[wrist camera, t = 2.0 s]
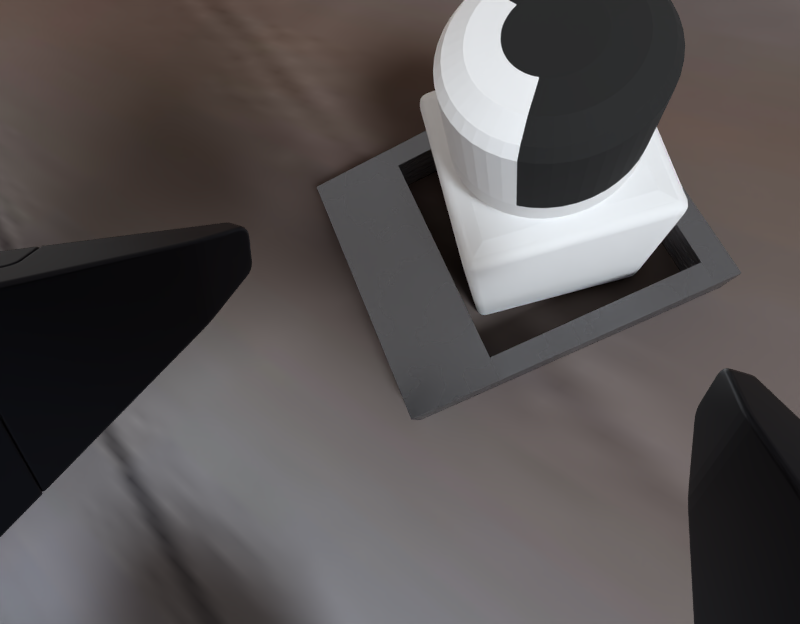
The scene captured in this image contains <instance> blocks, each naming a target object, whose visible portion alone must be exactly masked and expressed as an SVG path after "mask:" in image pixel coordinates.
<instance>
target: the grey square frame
mask: <svg viewBox="0 0 800 624" xmlns="http://www.w3.org/2000/svg"><path fill="white" fill-rule="evenodd" d="M435 171H437V169H436V165H435V161H434V158H433V154H432V150H431V147H430V143H429V139H428V136H427V132H426V131H424V132H422V133H420V134H418V135H417V136H415V137H413V138H411V139H409V140H407V141H405V142H403V143H401V144H399V145H397V146H395V147H393V148H391V149H389V150H387V151H385V152H383V153H382V154H380V155H378V156H376V157H374V158H372V159H370V160H368V161H366V162H364V163H362V164H360V165H358V166H356V167H354V168H352V169H350V170H348V171H346V172H345V173H343V174H341V175H339V176H337V177H335V178H333V179H331V180H329V181H327V182H325V183H323V184H321V185H319V186H317V189H318V192H319V194H320V196H321V199H322V201H323V204H324V206H325V209H326V211H327V214H328V216H329V218H330V221H331V223H332V226H333V228H334V231H335V233H336V236H337V238H338V240H339V243H340V245H341V248H342V250H343V253H344V255H345V258H346V260H347V262H348V265H349V267H350V270H351V272H352V275H353V277H354V280H355V282H356V284H357V287H358V289H359V292H360V294H361V297H362V299H363V302H364V304H365V306H366V309H367V311H368V314H369V316H370V319H371V321H372V324H373V326H374V328H375V331H376V333H377V336H378V338H379V341H380V343H381V346H382V348H383V350H384V353H385V355H386V358H387V360H388V363H389V365H390V368H391V370H392V373H393V375H394V377H395V380H396V382H397V385H398V387H399V390H400V392H401V395H402V397H403V399H404V402H405V404H406V407H407V409H408V412H409V414H410V417H411V419H414V420H421V419H423V418H426V417H428V416H430V415H432V414H435V413H437V412H439V411H442V410H444V409H446V408H448V407H451V406H453V405H455V404H457V403H460V402H462V401H464V400H466V399H469V398H471V397H473V396H475V395H478V394H480V393H482V392H484V391H487V390H489V389H491V388H494V387H496V386H498V385H500V384H503V383H505V382H507V381H509V380H512V379H514V378H516V377H518V376H521V375H523V374H525V373H527V372H530V371H532V370H534V369H536V368H539V367H541V366H543V365H545V364H548V363H550V362H552V361H555V360H557V359H559V358H561V357H564V356H566V355H568V354H570V353H573V352H575V351H577V350H579V349H582V348H584V347H586V346H588V345H591V344H593V343H595V342H597V341H600V340H602V339H604V338H607V337H609V336H611V335H613V334H616V333H618V332H620V331H622V330H625V329H627V328H629V327H631V326H634V325H636V324H638V323H640V322H643V321H645V320H647V319H649V318H652V317H654V316H656V315H659V314H661V313H663V312H665V311H668V310H670V309H672V308H674V307H677V306H679V305H681V304H683V303H686V302H688V301H690V300H692V299H695V298H697V297H699V296H701V295H704V294H706V293H708V292H710V291H713V290H715V289H717V288H720V287H721V286H723V285H724V284H726V283H727V282H729V281H730V280H732V279H733V278H735V277H736V276H738V275H739V274H741V272H740V270H739V269H738V267H737V266H736V264H735V263H734V261H733V260H732V258H731V257H730V256H729V254H728V253H727V251H726V250H725V248H724V247H723V245H722V244H721V242H720V241H719V239H718V238H717V237H716V235H715V234H714V232H713V231H712V229H711V228H710V226H709V225H708V223H707V222H706V220H705V219H704V218H703V216H702V215H701V213H700V212H699V210H698V209H697V207H696V206H695V204H694V203H693V201H692V200H691V199H690V197H689V196H688V194H687V193H686V191H685V190H684V188H683V187H682V188H683V191H684V193H685V195H686V198H687V200H688V208H687V210H686V212H685V213H684V215H683V216H682V217H681V218H680V219H679V221H678V222H677V223H676V224H675V226H674V227H673V228H672V229H671V231H670V232H669V233H668V234H667V236H666V237H665V238H664V239H663V240H662V243H663V245H664V246H665V248H666V249H667V251H668V252H669V254H670V255H671V257H672V259H673V260H674V262H675V263H676V265H677V266H678V268H679V269H680V271H681V272H679V273H677V274H674V275H672V276H670V277H668V278H666V279H663V280H661V281H659V282H657V283H654V284H652V285H650V286H648V287H646V288H643V289H641V290H639V291H637V292H634V293H632V294H630V295H628V296H626V297H623V298H621V299H619V300H617V301H614V302H612V303H610V304H608V305H606V306H603V307H601V308H599V309H597V310H594V311H592V312H590V313H588V314H586V315H583V316H581V317H579V318H577V319H574V320H572V321H570V322H568V323H566V324H563V325H561V326H559V327H557V328H554V329H552V330H550V331H548V332H546V333H543V334H541V335H539V336H537V337H534V338H532V339H530V340H528V341H526V342H523V343H521V344H519V345H517V346H514V347H512V348H510V349H508V350H506V351H503V352H501V353H499V354H497V355H494V356H492V357H489V355H488V352H487V350H486V348H485V346H484V344H483V342H482V340H481V338H480V336H479V334H478V331H477V329H476V327H475V325H474V323H473V321H472V319H471V317H470V315H469V313H468V311H467V308H466V306H465V304H464V302H463V300H462V298H461V296H460V294H459V292H458V290H457V288H456V285H455V283H454V281H453V279H452V277H451V275H450V273H449V271H448V269H447V267H446V265H445V262H444V260H443V258H442V256H441V254H440V252H439V250H438V248H437V246H436V244H435V242H434V239H433V237H432V235H431V233H430V231H429V229H428V227H427V225H426V223H425V221H424V218H423V216H422V214H421V212H420V210H419V208H418V206H417V204H416V202H415V200H414V198H413V195H412V193H411V191H410V189H409V187H408V185H409V184H411V183H413V182H415V181H417V180H419V179H421V178H423V177H425V176H427V175H429V174H431V173H433V172H435ZM681 186H682V185H681Z"/></svg>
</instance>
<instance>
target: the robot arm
mask: <svg viewBox="0 0 800 624" xmlns="http://www.w3.org/2000/svg"><path fill="white" fill-rule="evenodd" d="M251 266H252V259H251V250H250V240H249V233H248V231H247V230H246V229H245V228H244V227H242V226H239V225H235V224H232V223H220V224H212V225H205V226H197V227H189V228H181V229H173V230H165V231H157V232H150V233H142V234H134V235H126V236H118V237H110V238H102V239H95V240H87V241H79V242H71V243H63V244H55V245H47V246H42V247H40V248H39V247H31V248H23V249H15V250H7V251H0V537H1V536H2V535H3V534H4V533H5V532H6V531H7V530H8V529H9V528H10V527H11V526H12V524H13V523H14V522H15V521H16V520H17V519H18V518H19V517H20V516H21V515H22V514H23V513H24V512H25V511H26V510H27V509H28V508H29V507H30V506H31V505H32V504H33V503H34V502H35V501H36V500H37V499H38V498H39V497H40V496H41V495H42V491H45V490H46V489H47V488H48V487H49V486H50V485H51V484H52V483H53V482H54V481H55V480H56V479H57V478H58V477H59V476H60V475H61V474H62V473H63V472H64V471H65V470H66V469H67V468H68V467H69V466H70V465H71V464H72V463H73V462H74V461H75V460H76V459H77V458H78V457H79V456H80V455H81V454H82V453H83V452H84V451H85V450H86V448H87V447H88V446H89V445H90V444H91V443H92V442H93V441H94V440H95V439H96V438H97V437H98V436H99V435H100V434H101V433H102V432H103V431H104V430H105V429H106V428H107V427H108V426H109V425H110V424H111V423H112V422H113V421H114V420H115V419H116V418H117V417H118V416H119V415H120V414H121V413H122V412H123V411H124V410H125V409H126V408H127V407H128V406H129V405H130V404H131V403H132V402H133V401H134V400H135V399H136V398H137V397H138V396H139V394H140V393H141V392H142V391H143V390H144V389H145V388H146V387H147V386H148V385H149V384H150V383H151V382H152V381H153V380H154V379H155V378H156V377H157V376H158V375H159V374H160V373H161V372H162V371H163V370H164V369H165V368H166V367H167V366H168V365H169V364H170V363H171V362H172V361H173V360H174V359H175V358H176V357H177V356H178V355H179V354H180V353H181V352H182V351H183V350H184V349H185V348H186V347H187V346H188V345H189V344H190V343H191V341H192V340H193V339H194V338H195V337H196V336H197V335H198V334H199V333H200V332H201V331H202V330H203V329H204V328H205V327H206V326H207V325H208V324H209V323H210V321H211V320H212V319H213V318H214V317H215V316H216V314H217V313H218V312H219V310H220V309H221V308H222V307H223V305H224V304H225V303H226V302H227V300H228V299H229V298H230V297H231V295H232V294H233V293H234V292H235V290H236V289H237V288H238V287H239V285H240V284H241V283H242V282H243V280H244V279H245V278H246V277H247V275H248V274H249V272H250V270H251ZM688 516H689V535H690V554H691V573H692V592H693V611H694V624H800V419H799V418H798V417H797V416H796V415H795V414H794V413H793V412H792V411H791V410H790V409H789V408H787V407H786V406H785V405H784V404H783V403H782V402H781V401H780V400H779V399H778V398H777V397H776V396H775V395H774V394H773V393H772V392H771V391H770V390H769V389H767V388H766V387H765V386H764V385H763V384H762V383H761V382H760V381H759V380H758V379H757V378H756V377H755V376H752V375H750V374H747V373H743V372H740V371H736V370H733V369H728V368H726V369H723V370H722V371H720V372H719V373H718V375H717V376H716V378H715V380H714V381H713V383H712V384H711V386H710V388H709V389H708V391H707V392H706V394H705V396H704V397H703V399H702V401H701V402H700V404H699V406H698V408H697V411H696V415H695V422H694V433H693V444H692V456H691V467H690V478H689V491H688Z"/></svg>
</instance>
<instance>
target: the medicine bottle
mask: <svg viewBox="0 0 800 624" xmlns="http://www.w3.org/2000/svg"><path fill="white" fill-rule="evenodd" d="M684 52H685V41H684V33H683V27H682V24H681V21H680V18H679V15H678V13H677V11H676V9H675V7H674V5H673V3H672V2H671V0H464V1H463V2H462V3H461V4H460V6H459V7H458V8H457V9H456V11H455V12H454V13H453V15H452V16H451V17H450V19H449V21H448V23H447V24H446V26H445V28H444V30H443V32H442V34H441V37H440V39H439V42H438V44H437V48H436V52H435V56H434V66H433V77H434V87H435V91H432V92H429V93H426V94H425V95H423V96H422V98H421V99H420V110H421V113H422V117H423V121H424V124H425V128H426V132H427V136H428V139H429V143H430V147H431V150H432V154H433V158H434V161H435V165H436V169H437V173H438V176H439V180H440V184H441V187H442V191H443V195H444V198H445V202H446V206H447V210H448V213H449V217H450V221H451V224H452V228H453V232H454V235H455V239H456V243H457V247H458V250H459V254H460V258H461V261H462V265H463V268H464V272H465V275H466V278H467V281H468V284H469V287H470V291H471V294H472V297H473V300H474V303H475V306H476V309H477V311H478V313H480V314H482V315H488V314H492V313H495V312H499V311H503V310H507V309H510V308H514V307H518V306H522V305H526V304H529V303H533V302H537V301H541V300H544V299H548V298H552V297H556V296H560V295H563V294H567V293H571V292H575V291H578V290H582V289H586V288H590V287H593V286H597V285H601V284H605V283H609V282H612V281H616V280H620V279H624V278H627V277H631V276H633V275H635V274H636V273H637V271H638V270H639V269H640V268H641V266H642V265H643V264H644V263H645V261H646V260H647V259H648V258H649V257H650V255H651V254H652V253H653V252H654V250H655V249H656V248H657V247H658V245H659V244H660V243H661V242H662V240H663V239H664V238H665V237H666V236H667V234H668V233H669V232H670V231H671V229H672V228H673V227H674V226H675V224H676V223H677V222H678V221H679V219H680V218H681V217H682V216H683V215H684V213H685V212H686V210H687V208H688V200H687V198H686V195H685V193H684V191H683V188H682V186H681V183H680V181H679V179H678V176H677V174H676V172H675V169H674V167H673V165H672V162H671V160H670V157H669V155H668V153H667V150H666V148H665V146H664V143H663V141H662V139H661V136H660V134H659V131H658V129H657V125H658V123H659V121H660V119H661V117H662V114H663V112H664V110H665V108H666V106H667V104H668V102H669V100H670V98H671V96H672V94H673V92H674V89H675V87H676V85H677V82H678V80H679V77H680V75H681V71H682V66H683V62H684Z"/></svg>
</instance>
